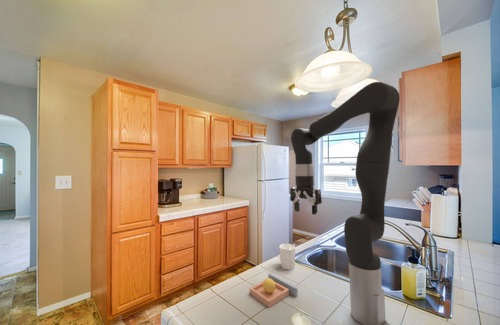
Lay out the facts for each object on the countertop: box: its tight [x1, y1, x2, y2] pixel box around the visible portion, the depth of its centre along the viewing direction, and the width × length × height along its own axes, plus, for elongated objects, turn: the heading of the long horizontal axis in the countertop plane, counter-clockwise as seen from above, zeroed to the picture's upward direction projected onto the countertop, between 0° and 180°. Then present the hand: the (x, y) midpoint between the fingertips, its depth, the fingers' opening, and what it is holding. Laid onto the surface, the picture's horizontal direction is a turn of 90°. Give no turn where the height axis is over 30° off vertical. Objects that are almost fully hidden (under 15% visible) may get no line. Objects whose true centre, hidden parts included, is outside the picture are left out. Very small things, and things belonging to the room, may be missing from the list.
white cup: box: [278, 243, 296, 271], centre depth 104 cm, size 8×8×10 cm
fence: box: [267, 272, 299, 297], centre depth 85 cm, size 15×1×3 cm, turn 40°
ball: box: [262, 277, 275, 293], centre depth 81 cm, size 5×5×5 cm
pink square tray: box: [249, 280, 290, 308], centre depth 81 cm, size 11×11×2 cm
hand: (305, 212), depth 88 cm, fingers open, 8 cm apart
